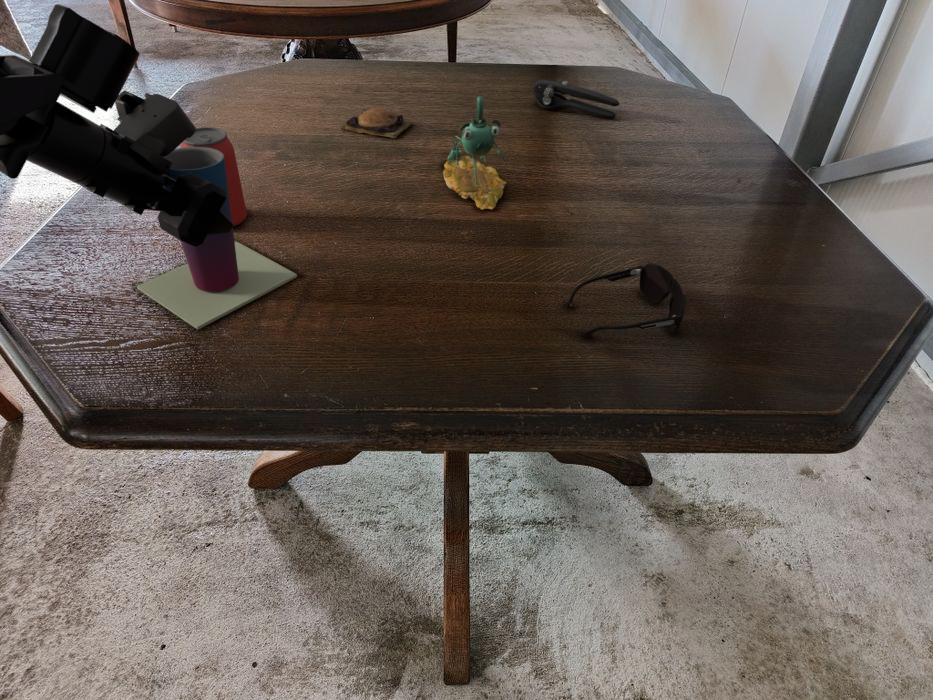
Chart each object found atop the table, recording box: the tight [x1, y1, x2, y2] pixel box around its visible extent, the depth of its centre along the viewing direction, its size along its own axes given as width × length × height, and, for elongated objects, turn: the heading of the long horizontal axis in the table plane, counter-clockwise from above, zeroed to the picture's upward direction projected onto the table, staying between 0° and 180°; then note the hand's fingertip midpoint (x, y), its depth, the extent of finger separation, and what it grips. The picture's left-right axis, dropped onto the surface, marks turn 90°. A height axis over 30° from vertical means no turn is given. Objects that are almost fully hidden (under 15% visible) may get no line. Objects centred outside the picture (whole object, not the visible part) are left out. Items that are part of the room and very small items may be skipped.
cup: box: [163, 147, 239, 292], centre depth 70 cm, size 7×7×15 cm
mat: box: [136, 240, 298, 331], centre depth 75 cm, size 14×12×1 cm
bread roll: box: [344, 106, 412, 139], centre depth 115 cm, size 11×8×4 cm
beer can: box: [180, 126, 248, 228], centre depth 83 cm, size 7×7×12 cm
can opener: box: [533, 79, 620, 120], centre depth 125 cm, size 18×7×6 cm, turn 67°
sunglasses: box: [567, 262, 686, 339], centre depth 72 cm, size 10×12×5 cm
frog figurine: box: [442, 95, 507, 211], centre depth 95 cm, size 10×18×15 cm, turn 13°
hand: (213, 219), depth 71 cm, fingers closed on cup, 6 cm apart
